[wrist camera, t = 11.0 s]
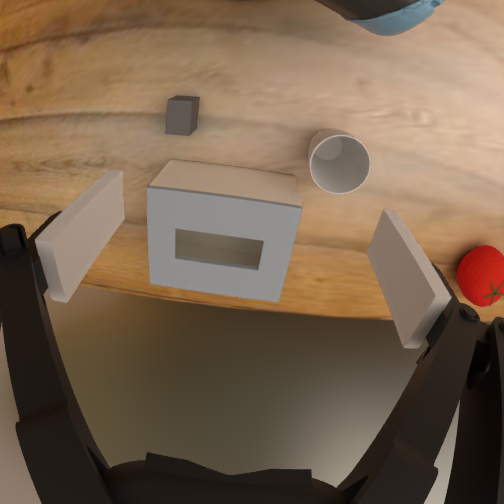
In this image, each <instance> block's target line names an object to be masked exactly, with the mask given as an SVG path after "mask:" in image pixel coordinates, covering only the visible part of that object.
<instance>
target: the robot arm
mask: <svg viewBox="0 0 504 504" xmlns="http://www.w3.org/2000/svg"><path fill="white" fill-rule="evenodd" d="M315 1H317V2H318V3H320V4H322V5H324V6H326V7H328V8H329V9H331V10H333V11H335V12H337V13H338V14H340V15H341V16H342V17H343V18H344V19H346V20H347V21H350V22H352V23H356V24H358V25H360V26H361V27H363V28H365V29H366V30H368V31H370V32H371V33H374V34H377V35H381V36H392V35H397V34H400V33H403V32H405V31H408V30H410V29H411V28H413V27H415V26H417V25H418V24H420V23H421V22H423V21H424V20H426V19H427V18H428V17H429V16H430V15H432V14H433V13H434V8H435V7H437V6H439V5H441V4H442V3H443V2H444V0H315ZM124 219H125V216H124V197H123V171H121V170H108V171H107V172H106V173H105V174H103V175H102V176H101V177H100V178H99V179H98V180H96V181H95V182H94V183H93V184H92V185H91V186H90V187H88V188H87V189H86V190H85V191H84V192H83V193H82V194H81V195H80V196H79V197H77V198H76V199H75V200H74V201H73V202H72V203H71V204H70V205H69V206H68V207H67V208H66V209H65V210H64V211H59V212H57V213H56V214H54V215H52V216H50V217H49V218H48V219H47V220H46V221H45V222H44V224H42V225H41V226H40V227H39V229H37V230H36V231H35V232H34V233H33V234H32V235H31V236H30V237H29V238H28V239H27V237H26V233H25V228H24V226H23V225H21V224H9V225H7V226H4V227H2V228H1V229H0V328H1V323H2V326H3V334H4V343H5V350H6V356H7V362H8V368H9V373H10V379H11V384H12V388H13V392H14V397H15V401H16V406H17V410H18V413H19V418H20V419H19V422H17V423H16V433H17V436H18V440H19V444H20V447H21V450H22V453H23V456H24V459H25V461H26V465H27V468H28V471H29V473H30V476H31V479H32V481H33V484H34V486H35V489H36V491H37V494H38V496H39V498H40V501H41V503H42V504H424V502H425V500H426V498H427V496H428V494H429V492H430V490H431V488H432V486H433V484H434V482H435V480H436V478H437V475H438V468H436V467H434V463H435V460H436V458H437V455H438V453H439V451H440V449H441V446H442V444H443V442H444V439H445V437H446V434H447V432H448V430H449V427H450V425H451V422H452V419H453V416H454V414H455V411H456V408H457V405H458V403H459V400H460V407H459V419H458V427H457V436H456V444H455V450H454V457H453V463H452V469H451V475H450V479H449V484H448V489H447V494H446V498H445V502H444V504H504V318H502V317H496V318H495V319H494V320H493V322H492V323H491V325H489V324H486V323H483V322H481V321H480V317H479V315H478V313H477V312H476V311H475V310H474V309H473V308H472V307H470V306H468V305H466V304H463V303H460V302H459V301H458V299H457V297H456V295H455V294H454V292H453V290H452V289H451V287H450V286H449V284H448V282H447V280H445V277H444V276H443V274H442V272H441V271H440V270H439V269H438V268H437V267H436V266H435V265H434V264H433V263H430V261H429V259H428V258H427V256H426V255H425V253H424V252H423V250H422V249H421V247H420V246H419V244H418V243H417V241H416V240H415V238H414V237H413V235H412V234H411V232H410V231H409V229H408V228H407V226H406V225H405V224H404V222H403V221H402V219H401V218H400V216H399V215H398V214H397V212H396V211H391V210H387V209H383V211H382V213H381V216H380V219H379V222H378V225H377V227H376V230H375V233H374V236H373V238H372V241H371V244H370V246H369V249H368V252H367V255H368V257H369V260H370V262H371V264H372V267H373V269H374V272H375V274H376V276H377V279H378V281H379V284H380V286H381V289H382V291H383V294H384V296H385V299H386V301H387V304H388V307H389V309H390V312H391V315H392V317H393V320H394V323H395V325H396V328H397V331H398V334H399V336H400V339H401V342H402V345H403V348H419V347H420V346H421V344H422V343H423V341H424V340H425V338H426V339H427V341H428V344H429V345H428V347H427V348H426V350H425V351H424V353H423V354H422V355H421V356H420V358H419V359H418V361H417V362H416V363H417V364H418V365H417V367H416V369H415V371H414V373H413V375H412V377H411V379H410V381H409V382H408V384H407V386H406V388H405V390H404V392H403V393H402V395H401V397H400V399H399V400H398V402H397V404H396V405H395V407H394V409H393V411H392V412H391V414H390V415H389V417H388V419H387V420H386V422H385V424H384V425H383V427H382V428H381V430H380V431H379V433H378V434H377V436H376V438H375V439H374V441H373V442H372V444H371V445H370V447H369V448H368V449H367V451H366V452H365V454H364V455H363V457H362V458H361V459H360V461H359V462H358V464H357V465H356V466H355V468H354V469H353V470H352V472H351V473H350V474H349V475H348V476H347V477H346V479H344V480H343V481H342V482H341V484H339V485H338V486H337V488H335V487H334V486H332V485H330V484H328V483H325V482H323V481H320V480H317V479H314V478H312V474H311V469H310V470H309V469H304V470H303V469H301V470H300V469H268V470H263V471H257V472H251V473H245V474H237V475H226V474H223V473H220V472H217V471H215V470H212V469H209V468H206V467H204V466H201V465H198V464H196V463H193V462H191V461H188V460H184V459H178V458H173V457H168V456H163V455H158V454H153V453H149V452H147V455H146V460H138V461H130V462H126V463H122V464H119V465H116V466H113V467H111V468H110V467H109V465H108V463H107V462H106V460H105V458H104V457H103V455H102V453H101V452H100V450H99V448H98V447H97V445H96V443H95V441H94V439H93V436H92V434H91V432H90V430H89V428H88V425H87V423H86V421H85V419H84V416H83V414H82V412H81V409H80V407H79V404H78V402H77V399H76V397H75V394H74V392H73V389H72V387H71V384H70V381H69V378H68V376H67V373H66V370H65V367H64V364H63V361H62V358H61V355H60V352H59V349H58V345H57V342H56V339H55V336H54V332H53V328H52V325H51V321H50V317H49V313H48V310H47V306H46V301H45V298H44V295H43V294H44V293H45V291H46V289H47V288H48V290H49V293H50V296H51V298H52V300H56V301H61V302H65V303H68V301H69V299H70V298H71V296H72V295H73V293H74V291H75V290H76V288H77V287H78V285H79V284H80V282H81V281H82V279H83V278H84V276H85V274H86V273H87V271H88V270H89V268H90V267H91V266H92V264H93V263H94V261H95V260H96V258H97V257H98V255H99V254H100V252H101V251H102V250H103V248H104V247H105V245H106V244H107V243H108V241H109V240H110V238H111V237H112V236H113V234H114V233H115V231H116V230H117V229H118V227H119V226H120V225H121V223H122V222H123V221H124Z"/></svg>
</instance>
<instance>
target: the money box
mask: <svg viewBox="0 0 504 504" xmlns="http://www.w3.org/2000/svg"><path fill="white" fill-rule="evenodd" d="M301 213H302V204H301V200H300V195H299V191H298V187H297V182H296V178H295V176H294V175H288V174H282V173H276V172H270V171H263V170H256V169H250V168H243V167H235V166H228V165H220V164H212V163H204V162H195V161H186V160H176V159H171V160H170V161H169V162H168V163H167V164H166V165H165V167H164V168H163V169H162V170H161V171H160V172H159V174H158V175H157V176H156V177H155V178H154V180H153V181H152V182H151V183H150V184H149V186H148V187H147V230H148V254H149V272H150V284H155V285H161V286H167V287H174V288H180V289H186V290H193V291H200V292H206V293H213V294H220V295H227V296H234V297H242V298H249V299H257V300H265V301H272V302H279V299H280V296H281V292H282V288H283V284H284V280H285V277H286V273H287V269H288V265H289V261H290V257H291V253H292V249H293V245H294V241H295V237H296V233H297V229H298V225H299V221H300V217H301Z"/></svg>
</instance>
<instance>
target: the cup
mask: <svg viewBox="0 0 504 504" xmlns="http://www.w3.org/2000/svg"><path fill="white" fill-rule="evenodd" d="M308 163H309V168H310V173H311V176H312V178H313V180H314V182H315V183H316V184H317V185H318V186H319V187H320V188H321V189H323V190H324V191H326V192H328V193H332V194H347V193H350V192H353V191H355V190H356V189H358V188H359V187H361V186H362V185H363V184H364V182H365V181H366V179H367V178H368V176H369V173H370V169H371V158H370V154H369V152H368V150H367V148H366V147H365V145H364V144H363V143H362V142H361V141H359V140H358V139H356V138H355V137H353V136H352V135H350V134H349V133H347V132H345V131H341V130H337V129H331V128H330V129H324V130H321V131H319V132H318V133H316V134H315V135H314V136H313V138H312V139H311V141H310V144H309V149H308Z"/></svg>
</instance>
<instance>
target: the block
mask: <svg viewBox="0 0 504 504" xmlns="http://www.w3.org/2000/svg"><path fill="white" fill-rule="evenodd" d="M199 98H200V97H190V96H175V97H173V98H170V99H168V103H167V116H166V132H165V134H175V135H186V136H190V135H191V133H192V132H193V131H194V130H195V129H196V128H197V117H198V108H199Z"/></svg>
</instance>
